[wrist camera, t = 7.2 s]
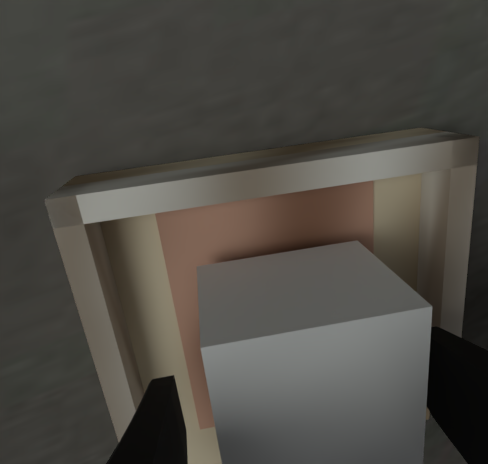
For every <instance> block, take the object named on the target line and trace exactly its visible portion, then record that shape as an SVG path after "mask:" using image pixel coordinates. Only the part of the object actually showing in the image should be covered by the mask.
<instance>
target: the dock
mask: <svg viewBox="0 0 488 464" xmlns="http://www.w3.org/2000/svg"><path fill="white" fill-rule="evenodd" d="M478 148H479V136H472V135H466V134H459V133H453V132H446V131H440V130H433V129H427V128H414V129H407V130H400V131H393V132H386V133H379V134H372V135H365V136H358V137H351V138H344V139H337V140H330V141H322V142H315V143H308V144H301V145H294V146H287V147H280V148H273V149H266V150H259V151H252V152H245V153H238V154H230V155H223V156H216V157H209V158H202V159H195V160H188V161H181V162H174V163H167V164H160V165H153V166H146V167H138V168H131V169H124V170H117V171H110V172H103V173H96V174H89V175H82V176H75V177H74V178H73V179H71V180H70V181H69V182H67V183H66V184H65V185H63V186H62V187H61V188H59V189H58V190H57V191H55V192H54V193H53V194H51V195H50V196H49V197H47V198H46V199H45V200H44V202H45V205H46V208H47V211H48V215H49V218H50V221H51V224H52V227H53V231H54V234H55V237H56V240H57V244H58V247H59V250H60V253H61V257H62V260H63V263H64V266H65V270H66V273H67V276H68V279H69V283H70V286H71V289H72V292H73V296H74V299H75V302H76V305H77V308H78V312H79V315H80V318H81V321H82V325H83V328H84V331H85V334H86V338H87V341H88V344H89V347H90V351H91V354H92V357H93V360H94V364H95V367H96V370H97V373H98V376H99V380H100V383H101V386H102V389H103V393H104V396H105V399H106V402H107V406H108V409H109V412H110V415H111V419H112V422H113V425H114V428H115V432H116V435H117V438H118V441H119V442H120V440H121V438H122V436H123V434H124V433H125V431H126V429H127V427H128V425H129V423H130V422H131V420H132V418H133V416H134V414H135V412H136V410H137V408H138V406H139V404H140V402H141V400H142V398H143V396H144V393H145V391H146V389H147V387H148V385H149V383H150V381H151V380H152V379H156V378H161V377H166V376H172V375H174V377H175V382H176V386H177V390H178V395H179V399H180V404H181V408H182V413H183V417H184V422H185V426H186V432H187V455H188V464H222V461H221V456H220V450H219V445H218V439H217V434H216V429H215V423H214V418H213V413H212V407H211V402H210V397H209V391H208V386H207V380H206V375H205V370H204V364H203V359H202V354H201V348H200V327H199V305H198V284H197V266H202V265H208V264H214V263H220V262H226V261H233V260H239V259H245V258H251V257H257V256H264V255H270V254H276V253H282V252H288V251H294V250H301V249H307V248H313V247H319V246H325V245H332V244H338V243H344V242H350V241H356V240H358V241H359V242H360V243H361V244H362V245H363V246H364V247H366V248H367V249H368V250H369V251H370V252H371V253H372V254H374V255H375V256H376V257H377V258H378V259H379V260H380V261H382V262H383V263H384V264H385V265H386V266H387V267H388V268H389V269H391V270H392V271H393V272H394V273H395V274H396V275H397V276H399V277H400V278H401V279H402V280H403V281H404V282H405V283H407V284H408V285H409V286H410V287H411V288H412V289H413V290H414V291H416V292H417V293H418V294H419V295H420V296H421V297H422V298H424V299H425V300H426V301H427V302H428V303H429V304H430V305H432V323H431V327H435V326H437V327H439V328H442V329H444V330H446V331H448V332H450V333H452V334H455V335H457V336H459V337H461V336H462V325H463V314H464V303H465V292H466V281H467V270H468V259H469V248H470V237H471V226H472V215H473V204H474V192H475V181H476V170H477V159H478ZM429 415H430V411H429V409H428V408H427V406H426V420H427V419H429Z"/></svg>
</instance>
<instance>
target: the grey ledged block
mask: <svg viewBox="0 0 488 464" xmlns="http://www.w3.org/2000/svg"><path fill="white" fill-rule="evenodd" d="M197 284H198V305H199V327H200V348H201V354H202V359H203V364H204V370H205V375H206V380H207V386H208V391H209V397H210V402H211V407H212V413H213V418H214V423H215V429H216V434H217V439H218V445H219V450H220V456H221V461H222V464H423V454H424V438H425V421H426V405H427V388H428V372H429V356H430V339H431V323H432V305H430V304H429V303H428V302H427V301H426V300H425V299H424V298H422V297H421V296H420V295H419V294H418V293H417V292H416V291H414V290H413V289H412V288H411V287H410V286H409V285H408V284H407V283H405V282H404V281H403V280H402V279H401V278H400V277H399V276H397V275H396V274H395V273H394V272H393V271H392V270H391V269H389V268H388V267H387V266H386V265H385V264H384V263H383V262H382V261H380V260H379V259H378V258H377V257H376V256H375V255H374V254H372V253H371V252H370V251H369V250H368V249H367V248H366V247H364V246H363V245H362V244H361V243H360V242H359V241H358V240H356V241H350V242H344V243H338V244H332V245H325V246H319V247H313V248H307V249H301V250H294V251H288V252H282V253H276V254H270V255H264V256H257V257H251V258H245V259H239V260H233V261H226V262H220V263H214V264H208V265H202V266H197Z"/></svg>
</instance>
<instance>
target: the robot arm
mask: <svg viewBox="0 0 488 464" xmlns="http://www.w3.org/2000/svg"><path fill="white" fill-rule="evenodd" d="M426 406H427V408H428V409H429V411H430V413H431V414H432V416H433V418H434V419H435V420H436V422H437V423H438V425H439V426H440V427H441V429H442V430H443V431H444V433H445V434H446V435H447V437H448V438H449V439H450V441H451V442H452V443H453V445H454V446H455V447H456V449H457V450H458V451H459V452H460V454H461V455H462V456H463V458H464V459H465V460H466V462H467V463H468V464H488V351H487V350H485V349H483V348H481V347H479V346H477V345H475V344H473V343H471V342H469V341H467V340H465V339H463V338H461V337H459V336H457V335H455V334H452V333H450V332H448V331H446V330H444V329H442V328H439V327H437V326H435V327H431V339H430V356H429V372H428V388H427V405H426ZM106 464H188V455H187V432H186V426H185V422H184V417H183V413H182V408H181V404H180V399H179V395H178V390H177V386H176V382H175V377H174V375H172V376H166V377H161V378H156V379H152V380H151V381H150V383H149V385H148V387H147V389H146V391H145V393H144V396H143V398H142V400H141V402H140V404H139V406H138V408H137V410H136V412H135V414H134V416H133V418H132V420H131V422H130V423H129V425H128V427H127V429H126V431H125V433H124V434H123V436H122V438H121V440H120V442H119V444H118V445H117V447H116V449H115V450H114V452H113V454H112V455H111V457H110V459H109V460H108V462H107V463H106Z"/></svg>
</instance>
